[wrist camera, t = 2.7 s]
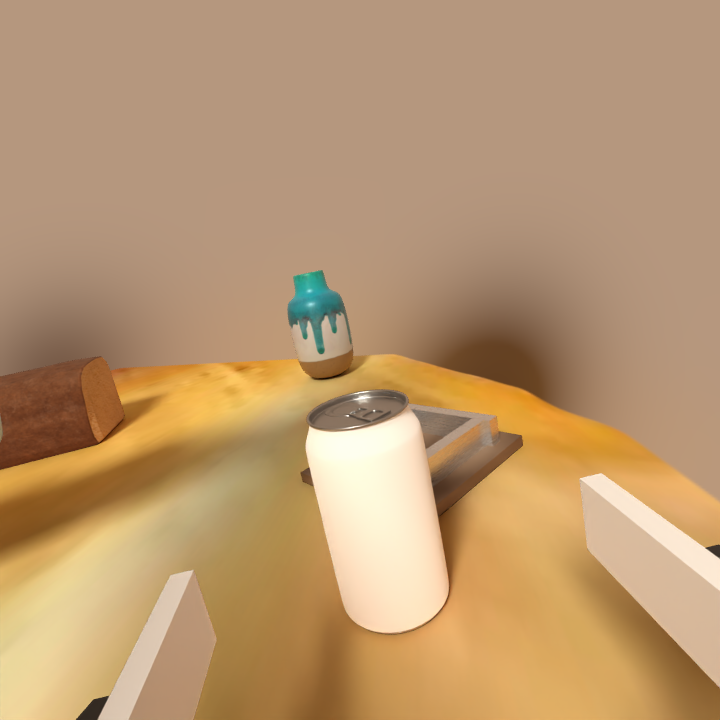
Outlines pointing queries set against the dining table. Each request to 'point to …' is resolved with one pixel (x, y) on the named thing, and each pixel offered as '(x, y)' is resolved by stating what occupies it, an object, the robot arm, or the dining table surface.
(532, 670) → the dining table surface
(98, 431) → the bread
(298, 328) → the vase
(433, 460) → the grey hollow square frame
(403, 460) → the can
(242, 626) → the dining table surface
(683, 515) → the dining table surface
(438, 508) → the collar base
